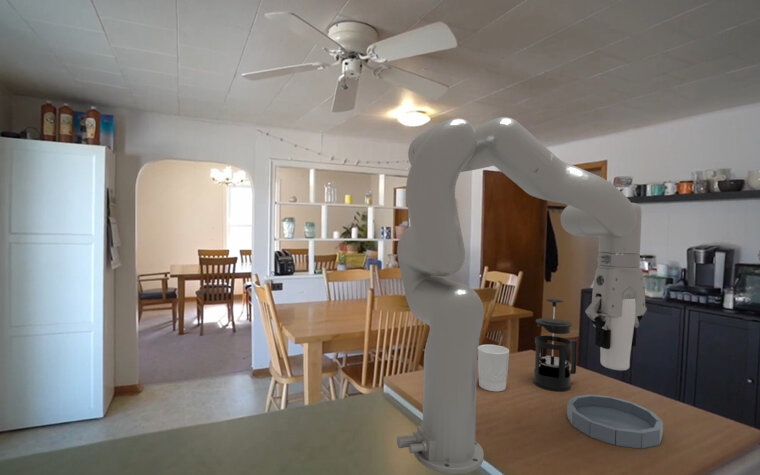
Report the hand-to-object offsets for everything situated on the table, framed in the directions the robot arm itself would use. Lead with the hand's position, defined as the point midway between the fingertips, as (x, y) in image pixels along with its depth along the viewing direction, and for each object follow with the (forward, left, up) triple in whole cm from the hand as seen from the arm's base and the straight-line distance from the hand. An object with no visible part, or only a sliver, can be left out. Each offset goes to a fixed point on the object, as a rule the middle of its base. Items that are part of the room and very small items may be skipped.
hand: (615, 345), depth 84 cm
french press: (+4, +22, -18) cm, 28 cm away
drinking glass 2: (0, 0, -5) cm, 5 cm away
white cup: (-13, +25, -18) cm, 33 cm away
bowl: (0, 0, -17) cm, 17 cm away
